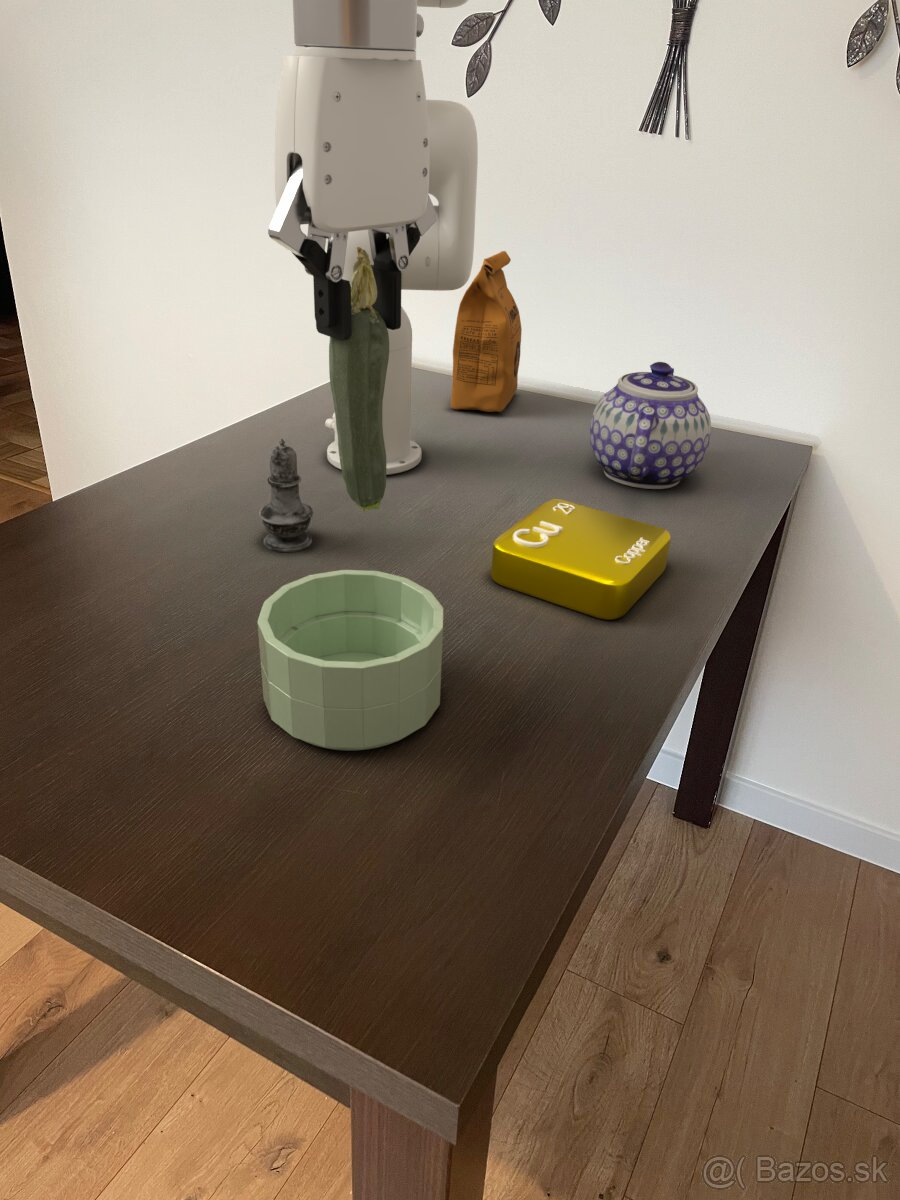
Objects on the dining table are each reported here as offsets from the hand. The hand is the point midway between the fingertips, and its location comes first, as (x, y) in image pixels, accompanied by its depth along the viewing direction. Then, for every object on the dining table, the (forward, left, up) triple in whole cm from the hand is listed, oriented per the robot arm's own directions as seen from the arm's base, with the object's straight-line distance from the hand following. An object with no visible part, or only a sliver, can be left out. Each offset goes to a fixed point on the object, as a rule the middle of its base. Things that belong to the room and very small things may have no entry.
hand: (358, 328), depth 66 cm
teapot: (-10, +57, -30) cm, 65 cm away
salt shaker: (-24, +10, -30) cm, 40 cm away
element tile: (+2, +29, -30) cm, 42 cm away
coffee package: (-42, +61, -30) cm, 80 cm away
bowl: (+3, -3, -30) cm, 30 cm away
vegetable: (0, 0, -15) cm, 15 cm away
